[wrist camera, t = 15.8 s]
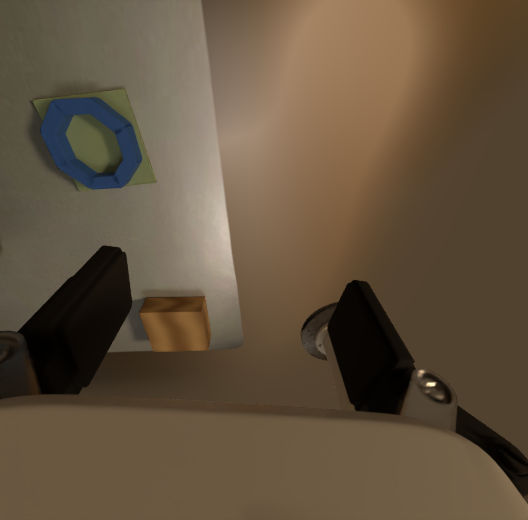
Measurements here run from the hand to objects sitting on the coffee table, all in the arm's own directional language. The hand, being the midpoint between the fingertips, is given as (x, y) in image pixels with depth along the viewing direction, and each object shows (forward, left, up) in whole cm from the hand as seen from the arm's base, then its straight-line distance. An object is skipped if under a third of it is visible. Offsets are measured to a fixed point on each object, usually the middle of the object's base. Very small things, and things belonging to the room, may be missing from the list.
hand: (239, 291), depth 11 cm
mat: (+15, +12, -28) cm, 34 cm away
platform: (-10, +33, -28) cm, 45 cm away
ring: (+15, +12, -28) cm, 34 cm away
